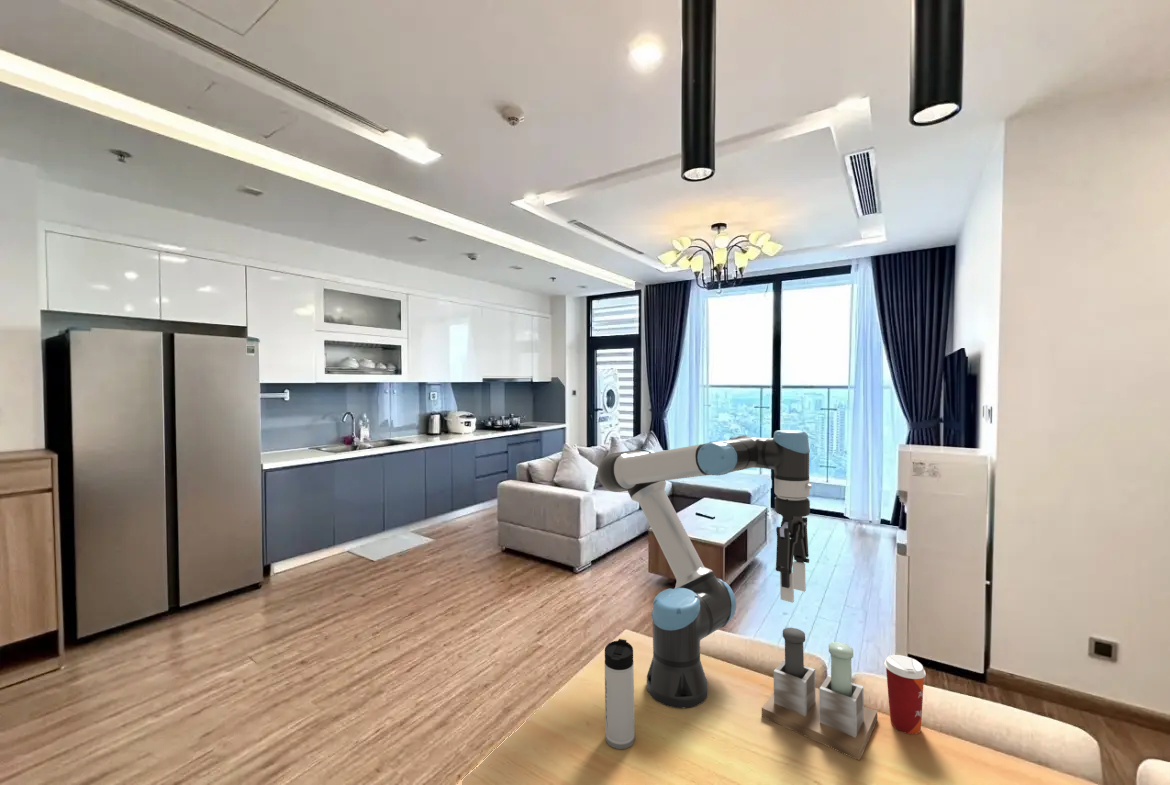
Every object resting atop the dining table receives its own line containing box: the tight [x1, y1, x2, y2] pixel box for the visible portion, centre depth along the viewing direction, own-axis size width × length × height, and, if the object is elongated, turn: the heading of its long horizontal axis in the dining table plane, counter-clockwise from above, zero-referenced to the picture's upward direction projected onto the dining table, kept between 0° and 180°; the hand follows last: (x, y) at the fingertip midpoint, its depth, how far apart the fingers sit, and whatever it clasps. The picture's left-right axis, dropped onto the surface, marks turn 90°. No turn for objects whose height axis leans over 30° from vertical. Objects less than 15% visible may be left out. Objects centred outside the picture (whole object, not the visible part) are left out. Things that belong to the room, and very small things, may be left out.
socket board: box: [761, 657, 878, 761], centre depth 109 cm, size 20×16×10 cm
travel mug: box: [604, 638, 636, 750], centre depth 104 cm, size 6×7×20 cm
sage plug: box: [828, 641, 854, 697], centre depth 105 cm, size 5×5×11 cm
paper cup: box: [883, 654, 927, 735], centre depth 107 cm, size 8×8×14 cm
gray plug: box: [782, 627, 806, 679], centre depth 112 cm, size 5×5×11 cm
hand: (793, 594), depth 112 cm, fingers open, 7 cm apart
